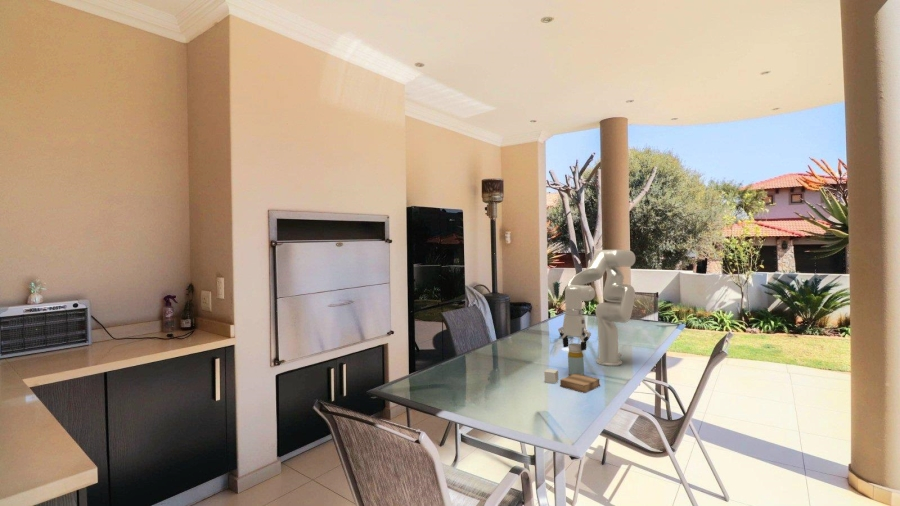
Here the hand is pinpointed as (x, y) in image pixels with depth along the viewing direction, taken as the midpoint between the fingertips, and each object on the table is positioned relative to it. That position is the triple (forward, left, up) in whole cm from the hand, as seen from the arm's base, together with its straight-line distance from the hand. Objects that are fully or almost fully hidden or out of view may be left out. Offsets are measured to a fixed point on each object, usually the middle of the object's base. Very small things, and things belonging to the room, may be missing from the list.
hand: (574, 348), depth 196 cm
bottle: (-1, 0, -14) cm, 14 cm away
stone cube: (+13, -4, -14) cm, 19 cm away
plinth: (+10, +9, -13) cm, 19 cm away
